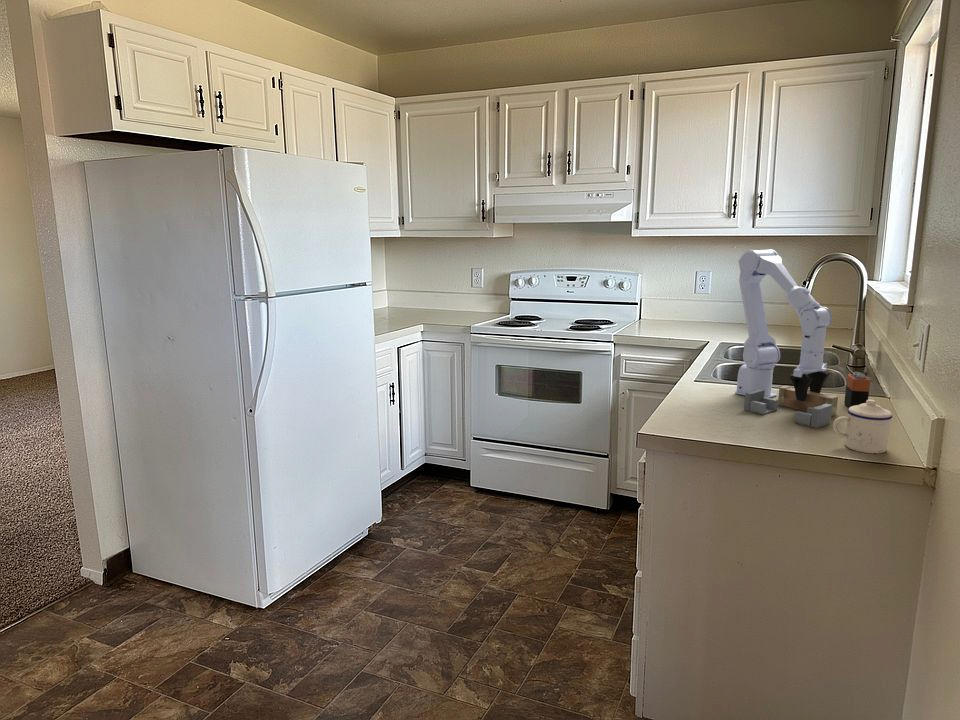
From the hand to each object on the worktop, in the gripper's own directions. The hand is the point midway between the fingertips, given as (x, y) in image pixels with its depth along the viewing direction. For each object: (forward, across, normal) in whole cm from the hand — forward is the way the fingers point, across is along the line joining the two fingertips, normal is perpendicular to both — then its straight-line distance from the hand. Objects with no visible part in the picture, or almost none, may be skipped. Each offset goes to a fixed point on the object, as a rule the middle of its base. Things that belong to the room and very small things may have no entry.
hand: (807, 398), depth 186 cm
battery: (+4, +13, -7) cm, 15 cm away
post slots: (+3, -11, 0) cm, 11 cm away
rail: (+3, 0, 0) cm, 3 cm away
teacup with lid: (+4, -21, -23) cm, 32 cm away
